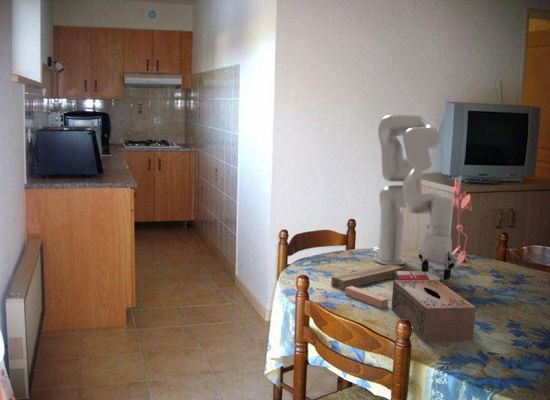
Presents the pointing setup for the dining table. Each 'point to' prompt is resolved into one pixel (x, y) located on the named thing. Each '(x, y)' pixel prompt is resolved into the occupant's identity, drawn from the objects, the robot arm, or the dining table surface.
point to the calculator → (416, 275)
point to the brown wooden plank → (365, 276)
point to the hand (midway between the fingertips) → (435, 276)
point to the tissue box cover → (433, 310)
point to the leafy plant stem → (464, 203)
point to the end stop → (367, 296)
